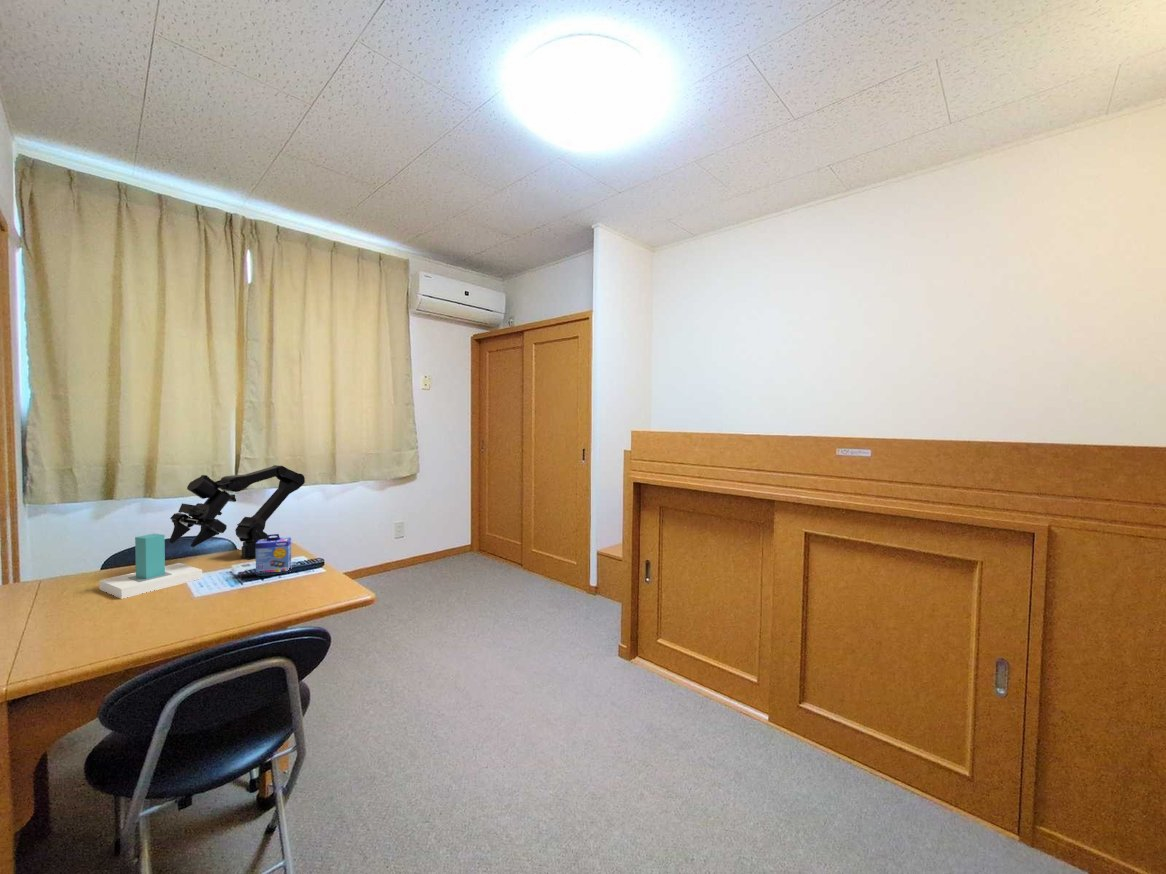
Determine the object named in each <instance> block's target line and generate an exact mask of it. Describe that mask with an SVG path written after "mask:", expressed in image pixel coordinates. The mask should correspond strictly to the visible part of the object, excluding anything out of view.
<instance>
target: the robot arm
mask: <svg viewBox="0 0 1166 874" xmlns="http://www.w3.org/2000/svg"><path fill="white" fill-rule="evenodd" d="M274 477H275V478H276V480H279V482H278V486H277V487H278V488H277V489H275V491H274V492H273V493H272V494H271V496H270V497H269V498H268V499H267V500H266V501H265V502H264V503H263V504H262V506H261V507H260V508H259V509H258V510H257V511H256V512H255V514H253V515H252V516H244V517H243V518H242V519H241V521H240V522H239V523H237V524H236V526H237V527H236V528H235V529H234V530H235V536H236V537H237V538H238V539H239V542H242V546H241V556H240V558H242V559H247V560H253V559H256V542H257V541H258V540H261V539H267V535H269V534H267V533H266V532H265V531H264V530H265V528H266V523H267V521H268V520H269V518H270V517H271V516H272V515H273V514H274V513H275V512H276V511H277V510H278V508H279V507H280V505H282V504H283V502H284V501H285V500H286V498H288V497H289V495H290V494H292V493H294V492H295V491H298V490H299V489H300V488H301V487H302V486H303V485H305V482H306V480H305V479H306V478H305V475H303V473H298V472H297V471H294V470H291V469H289V468H287V467H285V466H284V465H279V464H278V465H272V466H270V467H267V468H262V469H259V470H255V471H253V472H249V473H243V474H234V475H233V474H231V475H225V476H222V477H221V478H220V479H219V480H216V481H214V480H213V479H211V478H210V477H209V476H208V475H206V474H202V475H200V476H198V477H197V478H195V479H194V480H192V481H190V483H188V485H187V486H186V487H187V488H186V490H188V491H189V492H190V493H192V494H194V495H195V496H197V497H198V498H200V499H202V500H205V499H206V500H205V502H204V503H199V502H197V503H196V504H195V505H194V504H189V503H181V504H180V507H179V509H178V512H176V513H173V515H172V516H171V517H170V520H171V523H173V530H172V533H171V535H170V538H169V541H168V542H169V543H170V544H174V543H175V542H177V541H178V540H180V538H181V537H183V536H184V535H185V534H186V533H188V532H189V531H191V528H193V526H200V531H199V532H198V534H197V535H196V536H195V537H194V539H193V540H192V541H191V544H190V548H191V547H192V548H195V547H196V546H198V545H200V544H202V543H203V542H206V541H207V540H208V539H211V538H213V537H215V536H219V535H220V534H224V533H225V532H226V530H227V524H225V523H224V522H222V521H221V520H220V519H217V516H221V515H223V512H222V510H223V509H224V507H225V506H226V505H227V504H228V503H229V502H230V503H231V502H232V503H235V502H236V501H237V498H236V494H232V493H231V494H230V493H229V492H234V493H239V492H241V491H243V490H246V489H247V488H248V487H249V486H251V485H252V484H255V483H259V482H261V481H266V480H269V479H272V478H274Z"/></svg>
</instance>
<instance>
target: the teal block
mask: <svg viewBox="0 0 1166 874" xmlns="http://www.w3.org/2000/svg"><path fill="white" fill-rule="evenodd" d="M134 541H135V544H134V547H135V553H134V554H135V572H136V577H137V578H143V579H148V578H152V577H156V576H160V575H163V574H165V566H166V560H165V559H166V556H165V553H166V551H165V550H166V549H165V543H166V542H165V541H166V540H165V534H163V533H161V534H159V533H150V534H145V535H139V536H135V539H134Z"/></svg>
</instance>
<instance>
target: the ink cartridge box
mask: <svg viewBox="0 0 1166 874" xmlns="http://www.w3.org/2000/svg"><path fill="white" fill-rule="evenodd" d="M290 565H291V566H292V537H291V536H287V537H280V534H279V533H273V534H268V535H267V539H261V540H258V541H257V542H256V558H255V573H256V572H258V571H264V572H265V571H266V572H281V571H288V570H289V568H290Z"/></svg>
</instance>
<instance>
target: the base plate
mask: <svg viewBox="0 0 1166 874" xmlns="http://www.w3.org/2000/svg"><path fill="white" fill-rule="evenodd" d="M198 579H199V580H201V579H203V569H201V568H197V567H194V566H190V565H187V564H185V563H181V562H177V563H172V564H168V565H165V574H163V575H160V576H156V577H152V578H148V579H143V578H137V577H136V571H135V572H132V573H127V574H122V575H117V576H112V577H109V578H108V577H107V578H104V579H100V580H98V581H99V590H100V591H102V592H104V593H106V592H107V593H106V594H109V595H111V594H112V595H111V596H113V595H114V597H116V598H118V599H120V600H123V598H124V599H127V597H128V598H131V597H135V596H138V595H142V593H143V594H147V593H151V592H155V591H158V590H163V589H166V588H170V587H173V586H174V587H175V586H179V585H182V584H186V583H190V582H194V580H195V581H197V580H198ZM154 590H155V591H154ZM150 591H151V592H150ZM146 592H147V593H146Z"/></svg>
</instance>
